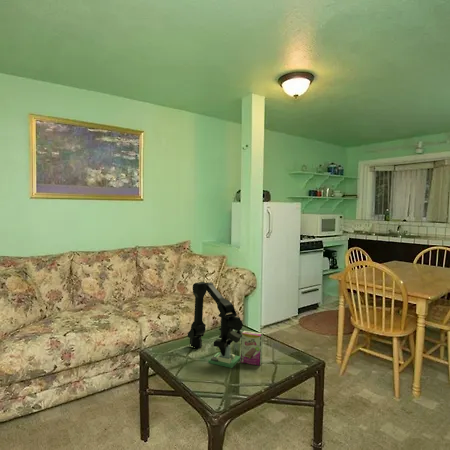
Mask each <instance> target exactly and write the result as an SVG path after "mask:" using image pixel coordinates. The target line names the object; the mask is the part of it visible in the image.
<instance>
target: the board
mask: <svg viewBox="0 0 450 450" xmlns="http://www.w3.org/2000/svg"><path fill="white" fill-rule="evenodd" d="M220 353H221V351H220V352H219V351H218V352H216V353H215V354H214V355H213V356H212V357H210V358H209V359H208V361H207V363H208V364H210V365H211V364H212V365H216V366H221V367H224V368H225V367H226V368H231V369H233V368H234V367H235V366H236V364H238V362H240V361H241V355H237V354H233V353H231V357H230V358H222V357H220Z"/></svg>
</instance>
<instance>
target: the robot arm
mask: <svg viewBox="0 0 450 450" xmlns="http://www.w3.org/2000/svg"><path fill="white" fill-rule="evenodd" d="M207 293H208V294H209V296H211V298H212V300H213V301H214V302H215V303H216V305H217V306H216V307H217V310H218V311H219V314H217V316H218V317H219V318H220V327H219V328H218V330H219V331H220V333H219V335H218V338H216V340H214V341H213V347H215V348H216V347H217V348H218V349H219V351H220V352H221V353H222V356H225V351H226V347H227V346H228V345H230V346H231V344H232V342H234V343H236V344H238V343H239V342H240V341H241V333H242V331H241V330H242V329H243V327H244V324H243V320H241V317H239V316H238V314H237V311H236V309H235V307H234V304H233V303H232V302H231V301H230V300H228V299H226V298H225V297H224V296H223V295H222V294H221V293H220V292H219V290H218V289H217V288H216V286H215V285H214V283H213V282H212V281H210V282H205V281H199V282H195V283H193V284H192V294H193V295H194V318H193V321H192V323H191V326H190V330H189V331H188V332H187V337H188V338H189V345H190V344H191V346H193V347H195V348H196V349H195V350H199V349H201V348H202V347H203V339H202V337H204V335H205V332H206V323H204V321H203V317H204V316H203V315H204V298H205V295H206V294H207ZM201 346H202V347H201ZM198 348H199V349H198Z"/></svg>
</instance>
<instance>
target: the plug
mask: <svg viewBox="0 0 450 450" xmlns="http://www.w3.org/2000/svg"><path fill="white" fill-rule="evenodd" d="M231 354H232V347H231V344H230V345H228V346H227V347H226V351H225V356H222V353H220V357H222V358H230V357H231Z"/></svg>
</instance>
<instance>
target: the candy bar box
mask: <svg viewBox="0 0 450 450" xmlns="http://www.w3.org/2000/svg"><path fill="white" fill-rule="evenodd" d="M263 339H264V333H263V332H257V331H250V330H242V331H241V338H240V356H241V359H240V363H242V364H245V365H246V364H248V365H253V366H257V367H258V366H259V367H260V366H261V365H262V363H263V347H264V346H263V343H264V342H263V341H264V340H263Z"/></svg>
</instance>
